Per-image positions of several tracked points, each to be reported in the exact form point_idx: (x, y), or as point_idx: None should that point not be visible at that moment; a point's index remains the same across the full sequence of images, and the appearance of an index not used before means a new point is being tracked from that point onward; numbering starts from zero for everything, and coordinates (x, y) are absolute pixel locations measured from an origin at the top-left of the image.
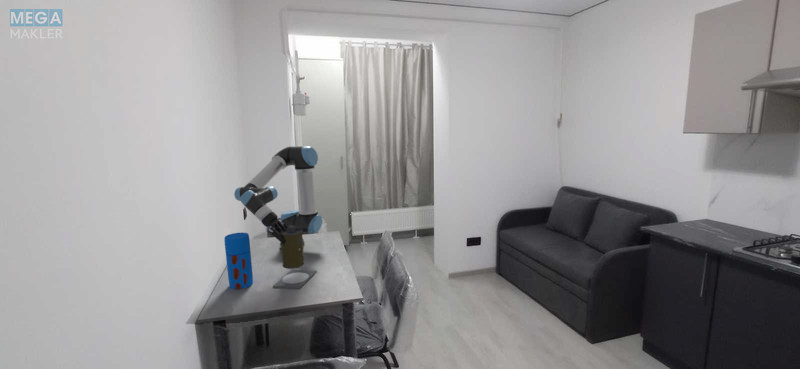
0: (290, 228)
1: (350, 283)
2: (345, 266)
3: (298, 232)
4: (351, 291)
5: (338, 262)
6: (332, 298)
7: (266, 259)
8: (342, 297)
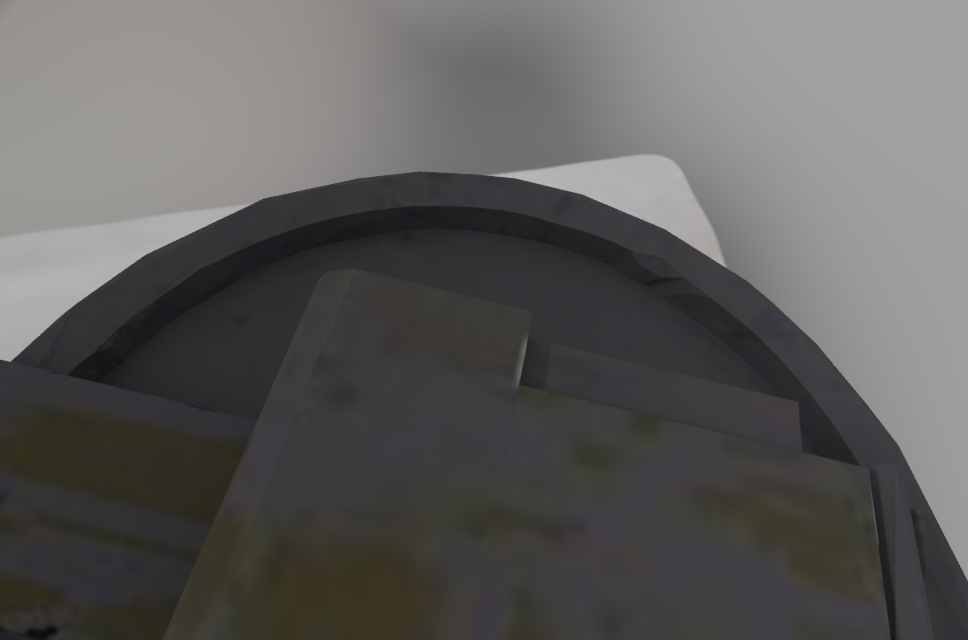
0: (872, 534)
1: (517, 178)
2: (203, 213)
3: (499, 297)
4: (623, 172)
5: (81, 268)
6: (719, 258)
7: None
8: (699, 211)
